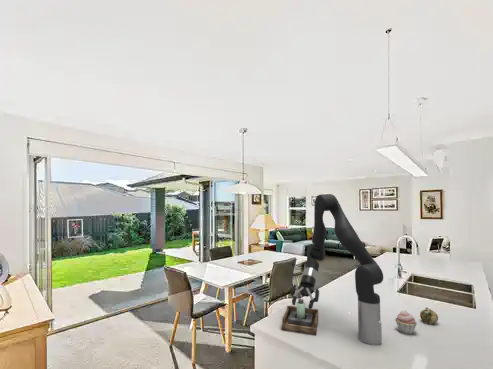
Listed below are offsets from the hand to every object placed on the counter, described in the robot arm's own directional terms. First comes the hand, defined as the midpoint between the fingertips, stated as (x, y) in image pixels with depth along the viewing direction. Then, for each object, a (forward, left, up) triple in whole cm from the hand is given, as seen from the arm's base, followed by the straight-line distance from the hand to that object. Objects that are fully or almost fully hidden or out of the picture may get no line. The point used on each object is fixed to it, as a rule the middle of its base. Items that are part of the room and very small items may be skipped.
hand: (301, 306), depth 136 cm
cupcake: (-49, -10, -9) cm, 51 cm away
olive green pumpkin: (-63, -25, -9) cm, 68 cm away
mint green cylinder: (0, 0, -8) cm, 8 cm away
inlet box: (0, +1, -9) cm, 9 cm away
